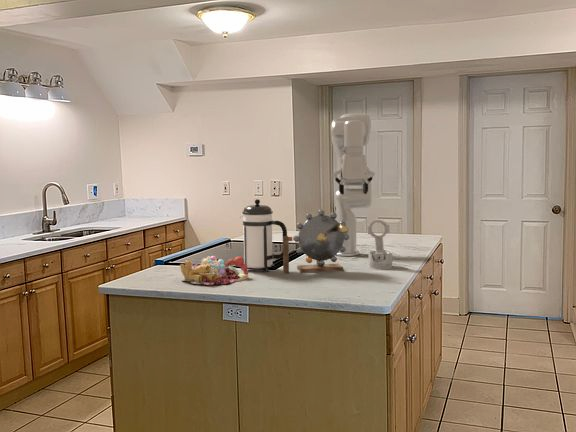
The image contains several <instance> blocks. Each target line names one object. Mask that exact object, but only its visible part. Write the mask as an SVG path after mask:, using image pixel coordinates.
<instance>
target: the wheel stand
mask: <svg viewBox="0 0 576 432" xmlns="http://www.w3.org/2000/svg"><path fill="white" fill-rule="evenodd" d="M293 237H294V236H288V235H287V236H283V235H282V251H283V257H282V261H283V262H282V264H283V265H282V272H283V274H289V273H290V257H289V256H290V254H289V253H290V252H289V251H290V249H289V248H290V247H289V246H290V245H289V244H290V243H289V242H293V241H294V240H293ZM296 269H297V271H299V272H300V273H305V274H306V273H321V272H322V273H323V272H339V271H340V272H342V271H344V266H342V265H341V264H339V263H325V264H324V265H323V266H320V265H319V264H318V260H316V264H303V265H301V264H300V265H299V264H298V265H296Z"/></svg>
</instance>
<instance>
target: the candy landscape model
mask: <svg viewBox="0 0 576 432" xmlns="http://www.w3.org/2000/svg"><path fill="white" fill-rule="evenodd" d="M184 261H185V262H184V263H180V264H179V267H180V271H181V273H182V275H183V277H184V278H182V279H180V280H181V281H183V282H190V284H195V285H207V286H212V285H216V286H218V285H220V284H221V285H222V284H223V285H227V284H231V283H234V282H242V281H244V280H247V279H248V278H249V269H248V270H247V268H248V267H247V265H246V264H244V257H242V256H236V257H235V258H234V259H233V258H229V259H228V260H227V262H225V260H223V259H219V258H217V257H216V256H215V255H211V256H210V255H208V256H207V257H204V258H202V259H201V261H200V264H198V262H196V263H195V264H193V262H192V259H187V260H184ZM234 266H236V267H234ZM237 267H238V268H240V270H241V271H243V273H240V272H239V270H238V269H237Z"/></svg>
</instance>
